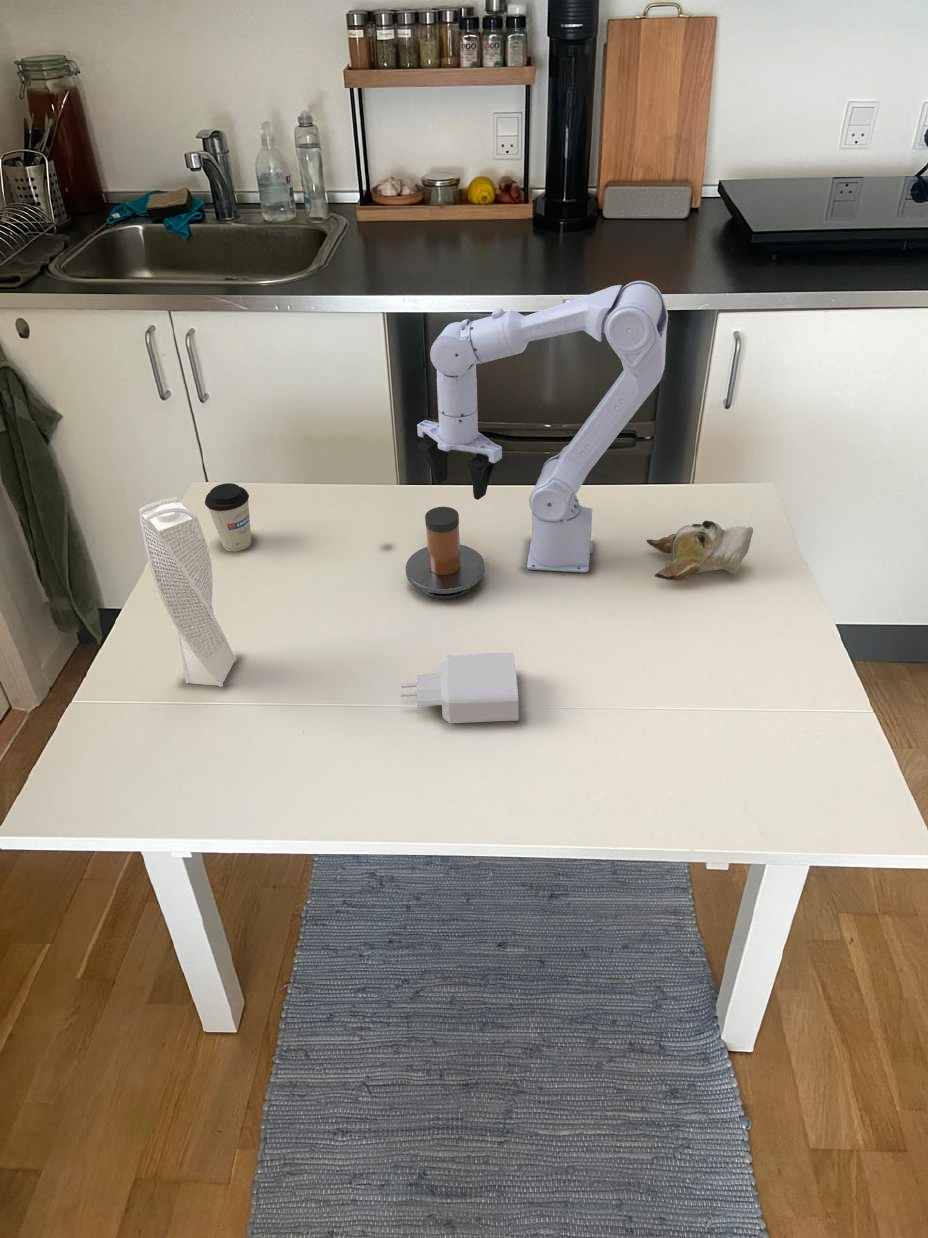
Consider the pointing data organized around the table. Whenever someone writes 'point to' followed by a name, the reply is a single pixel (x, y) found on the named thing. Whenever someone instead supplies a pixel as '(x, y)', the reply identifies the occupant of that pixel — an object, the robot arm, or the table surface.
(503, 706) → the charger
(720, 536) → the ceramic sculpture
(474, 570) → the steel stand
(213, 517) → the coffee cup
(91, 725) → the table surface
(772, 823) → the table surface
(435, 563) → the spice jar
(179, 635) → the skyscraper
